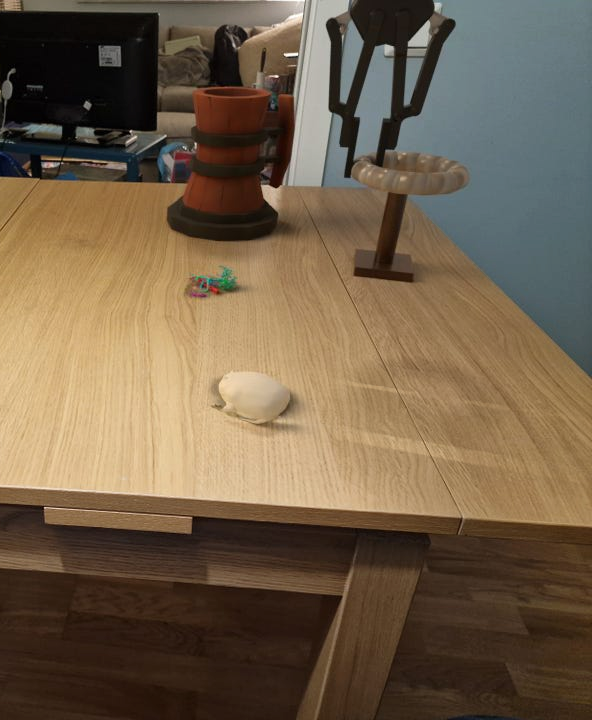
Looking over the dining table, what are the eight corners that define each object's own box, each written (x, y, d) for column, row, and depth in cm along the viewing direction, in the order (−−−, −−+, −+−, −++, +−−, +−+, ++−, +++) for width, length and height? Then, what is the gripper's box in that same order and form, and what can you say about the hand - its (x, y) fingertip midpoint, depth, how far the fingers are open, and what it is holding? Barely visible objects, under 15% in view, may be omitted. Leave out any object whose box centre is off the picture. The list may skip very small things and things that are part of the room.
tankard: (149, 212, 139) (153, 87, 127) (254, 201, 146) (267, 81, 134) (195, 246, 121) (204, 104, 109) (312, 231, 128) (332, 96, 116)
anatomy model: (172, 265, 101) (199, 274, 96) (213, 255, 105) (242, 264, 99) (173, 297, 103) (199, 308, 98) (213, 287, 107) (241, 297, 101)
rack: (408, 262, 114) (430, 171, 106) (411, 282, 107) (434, 186, 99) (354, 256, 117) (371, 167, 109) (353, 275, 109) (371, 181, 102)
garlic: (204, 407, 75) (206, 379, 74) (234, 383, 80) (237, 355, 78) (267, 433, 71) (272, 404, 69) (296, 406, 76) (300, 378, 74)
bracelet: (458, 173, 82) (463, 153, 81) (473, 202, 71) (479, 180, 70) (350, 165, 85) (353, 146, 84) (349, 191, 75) (352, 170, 74)
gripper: (321, -54, 67) (292, 179, 79) (493, -58, 63) (435, 189, 74) (324, -51, 73) (297, 164, 85) (481, -55, 69) (429, 173, 81)
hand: (361, 175), depth 80 cm, fingers closed on bracelet, 3 cm apart
